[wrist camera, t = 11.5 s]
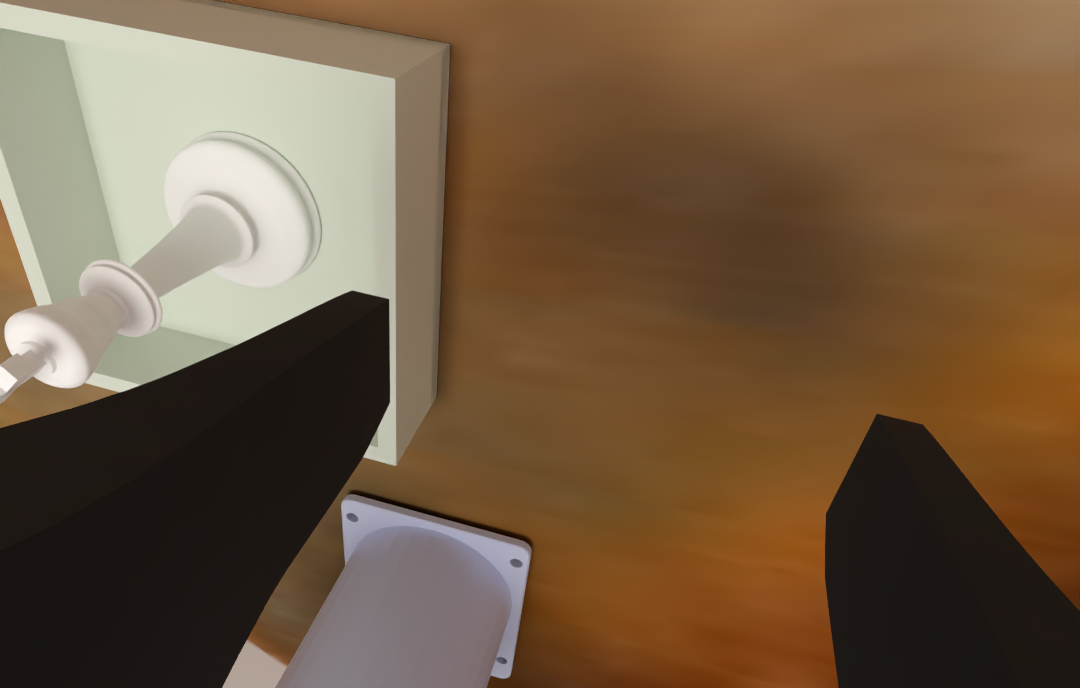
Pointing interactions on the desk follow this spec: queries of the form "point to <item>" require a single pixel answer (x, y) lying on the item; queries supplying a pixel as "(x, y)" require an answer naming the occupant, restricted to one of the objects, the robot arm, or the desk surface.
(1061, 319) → the desk surface
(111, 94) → the box
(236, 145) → the chess piece
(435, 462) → the desk surface
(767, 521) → the desk surface
